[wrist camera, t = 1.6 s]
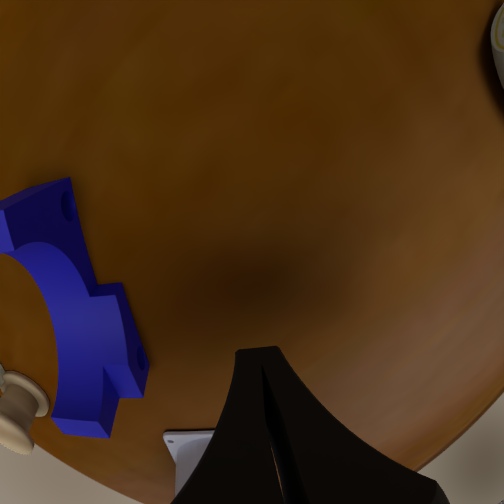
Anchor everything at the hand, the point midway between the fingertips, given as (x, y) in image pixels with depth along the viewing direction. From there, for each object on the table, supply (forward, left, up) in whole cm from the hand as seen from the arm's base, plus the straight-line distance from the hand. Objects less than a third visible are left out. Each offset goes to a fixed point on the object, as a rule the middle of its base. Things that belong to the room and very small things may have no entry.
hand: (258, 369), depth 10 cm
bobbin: (-10, +19, -7) cm, 22 cm away
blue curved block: (0, +9, -7) cm, 11 cm away
